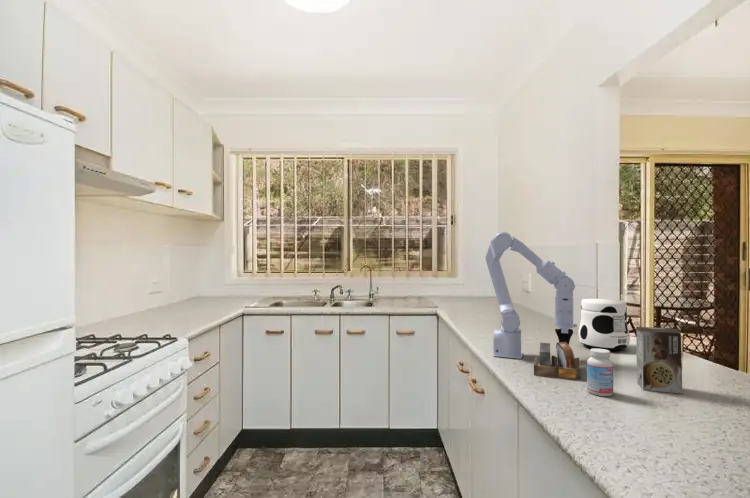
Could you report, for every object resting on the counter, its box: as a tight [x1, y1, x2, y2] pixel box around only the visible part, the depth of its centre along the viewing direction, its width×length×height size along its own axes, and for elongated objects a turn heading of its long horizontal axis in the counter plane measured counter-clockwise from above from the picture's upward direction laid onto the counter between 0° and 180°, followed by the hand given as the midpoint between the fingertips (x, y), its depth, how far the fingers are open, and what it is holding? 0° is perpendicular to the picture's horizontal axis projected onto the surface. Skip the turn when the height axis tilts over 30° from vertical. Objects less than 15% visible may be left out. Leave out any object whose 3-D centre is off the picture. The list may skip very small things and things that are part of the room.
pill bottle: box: [586, 348, 614, 397], centre depth 109 cm, size 6×6×11 cm
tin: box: [555, 341, 576, 369], centre depth 128 cm, size 15×3×8 cm, turn 167°
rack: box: [533, 342, 581, 381], centre depth 129 cm, size 13×16×7 cm
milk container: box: [578, 298, 631, 351], centre depth 158 cm, size 17×17×18 cm
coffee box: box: [635, 326, 683, 394], centre depth 112 cm, size 9×6×16 cm
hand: (563, 350), depth 142 cm, fingers closed
